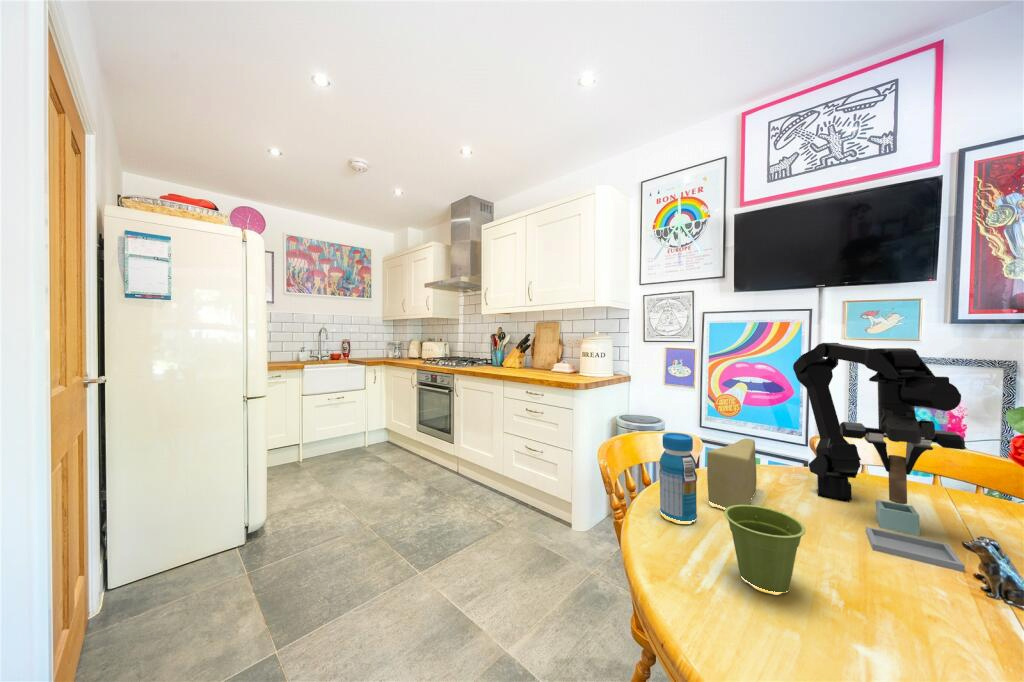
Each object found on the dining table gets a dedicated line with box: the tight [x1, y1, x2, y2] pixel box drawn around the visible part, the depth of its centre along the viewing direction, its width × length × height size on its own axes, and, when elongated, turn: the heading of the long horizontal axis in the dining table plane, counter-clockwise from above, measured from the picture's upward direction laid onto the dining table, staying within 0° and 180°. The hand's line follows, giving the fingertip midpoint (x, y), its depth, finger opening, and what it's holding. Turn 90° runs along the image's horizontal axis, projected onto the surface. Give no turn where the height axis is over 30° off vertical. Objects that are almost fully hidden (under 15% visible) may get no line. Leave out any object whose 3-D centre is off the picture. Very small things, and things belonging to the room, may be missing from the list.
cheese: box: [706, 438, 758, 508], centre depth 99 cm, size 22×10×15 cm, turn 132°
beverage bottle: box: [658, 432, 698, 521], centre depth 89 cm, size 8×8×20 cm
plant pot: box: [723, 504, 807, 592], centre depth 64 cm, size 12×12×11 cm
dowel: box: [887, 454, 908, 505], centre depth 82 cm, size 3×3×10 cm
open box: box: [875, 498, 921, 537], centre depth 83 cm, size 6×6×5 cm
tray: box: [865, 526, 966, 573], centre depth 73 cm, size 12×9×2 cm
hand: (897, 472), depth 82 cm, fingers closed on dowel, 3 cm apart
